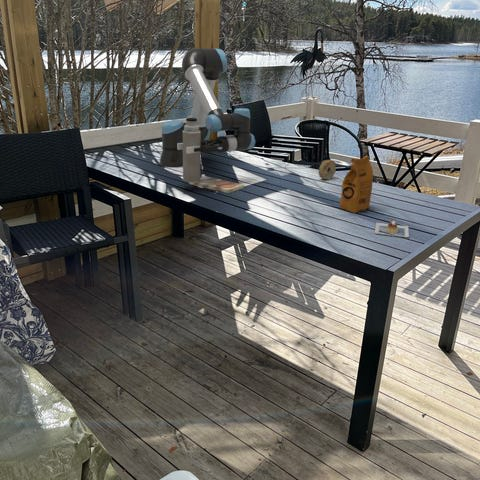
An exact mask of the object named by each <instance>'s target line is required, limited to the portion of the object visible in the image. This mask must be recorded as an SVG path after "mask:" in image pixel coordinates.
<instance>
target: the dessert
mask: <svg viewBox="0 0 480 480" xmlns="http://www.w3.org/2000/svg"><path fill="white" fill-rule="evenodd" d="M380 226H383V227H386V229H385V232H387V233H382V232H379V231H380ZM399 229H404V235H398V233H399ZM388 233H390V234H388ZM374 234H376V235H382V236H390V237H398V238H406V239H407V238H409V237H410V228H409V226H408V225H400V224H397V223H396V221H395V220H393V221H390V222H389V223H382V222H376V223H375V231H374ZM396 234H397V235H396Z"/></svg>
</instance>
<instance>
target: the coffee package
mask: <svg viewBox="0 0 480 480" xmlns="http://www.w3.org/2000/svg"><path fill="white" fill-rule="evenodd" d="M350 162H352V165H351V166H350V170H349V171H348V172H347V173H346V175H345V177H344V179H343V181H342V185H341V195H340V202H339V206H340V209H341V210H344V211H347V212H350V213H353V214H355V213H359V212H360V211H366V210H367V209H369V208H370V203H371V196H372V190H373V180H374V179H373V178H374V169H373V167H372V164H371V163H372V162H371V161H370V158H369V155H365V156H363V157H362V158H357V157H356V158H354V157H353V158H352V159H351V160H350Z"/></svg>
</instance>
